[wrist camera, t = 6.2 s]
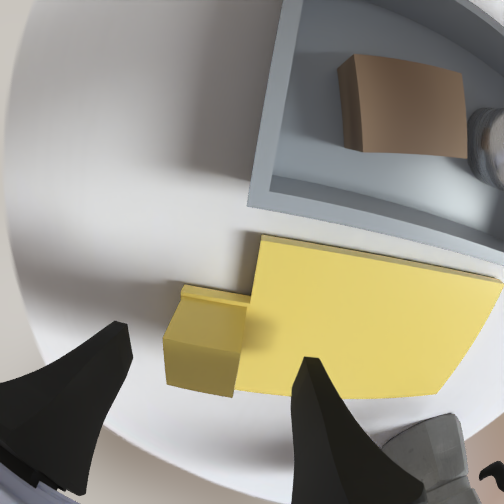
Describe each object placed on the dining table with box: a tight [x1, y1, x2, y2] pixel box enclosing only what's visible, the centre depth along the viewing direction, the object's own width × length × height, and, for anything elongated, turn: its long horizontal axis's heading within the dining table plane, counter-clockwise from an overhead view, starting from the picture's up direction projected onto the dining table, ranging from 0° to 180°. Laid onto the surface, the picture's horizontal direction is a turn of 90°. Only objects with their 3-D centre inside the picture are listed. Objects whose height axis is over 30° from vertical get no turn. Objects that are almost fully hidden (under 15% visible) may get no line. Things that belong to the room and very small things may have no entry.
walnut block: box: [337, 54, 467, 159], centre depth 7 cm, size 4×3×2 cm
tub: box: [247, 0, 504, 266], centre depth 7 cm, size 14×9×4 cm, turn 81°
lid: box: [163, 235, 504, 399], centre depth 12 cm, size 17×9×4 cm, turn 81°
